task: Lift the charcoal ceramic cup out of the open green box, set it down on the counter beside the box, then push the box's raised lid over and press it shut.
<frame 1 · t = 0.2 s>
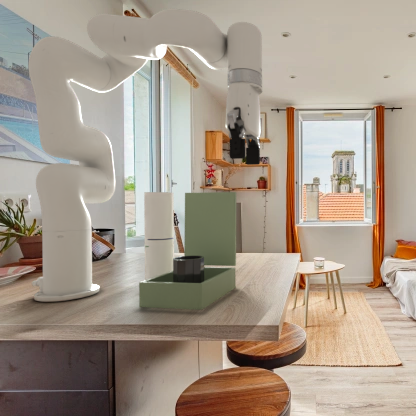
hand: (245, 161, 72), 31 cm above the table, tool pointing down, fingers open, 9 cm apart
open green box: (192, 299, 74), on the table
cylindrical container: (159, 285, 88), on the table
cup: (189, 297, 72), point 1 cm above the table, touching open green box
lid: (210, 228, 83), point 15 cm above the table, hinge at 92.0°
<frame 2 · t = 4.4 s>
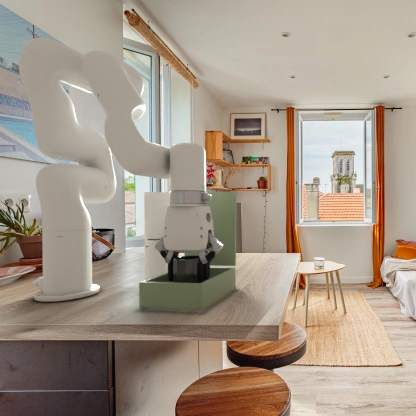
hand: (188, 279, 72), 5 cm above the table, tool pointing down, fingers closed on cup, 6 cm apart
cup: (189, 297, 72), point 1 cm above the table, touching open green box, gripper
everything else where it was.
when the fingers open (4 cm above the table, at t = 11.6 s): cup stays where it is, on the table.
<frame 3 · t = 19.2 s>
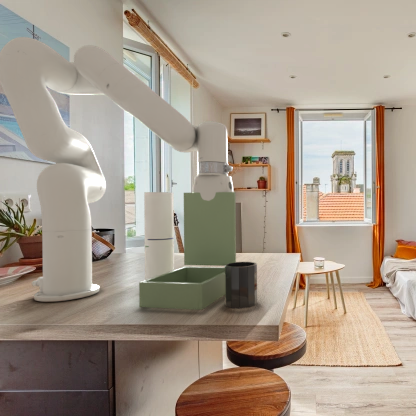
hand: (213, 241, 84), 12 cm above the table, tool pointing down, fingers closed
cup: (241, 307, 68), on the table
lid: (209, 228, 82), point 15 cm above the table, hinge at 89.9°, touching gripper
everything else where it was.
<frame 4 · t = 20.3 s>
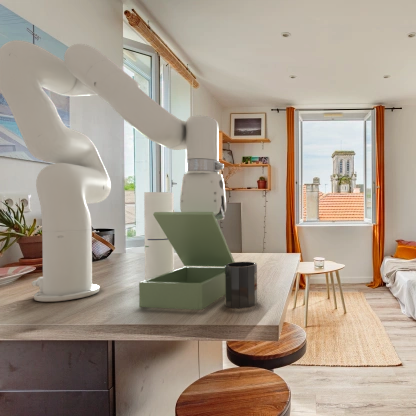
hand: (203, 243, 79), 12 cm above the table, tool pointing down, fingers closed
lid: (197, 241, 76), point 13 cm above the table, hinge at 46.8°, touching gripper
everything else where it was.
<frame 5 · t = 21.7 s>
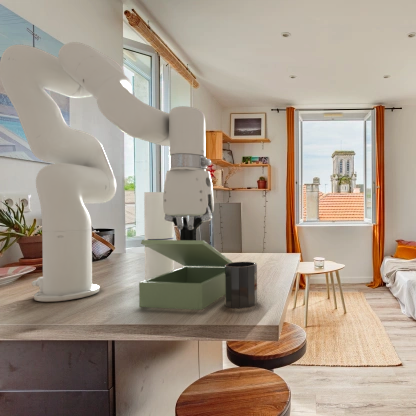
hand: (188, 247, 72), 12 cm above the table, tool pointing down, fingers closed
lid: (193, 254, 74), point 10 cm above the table, hinge at 24.7°
everything else where it was.
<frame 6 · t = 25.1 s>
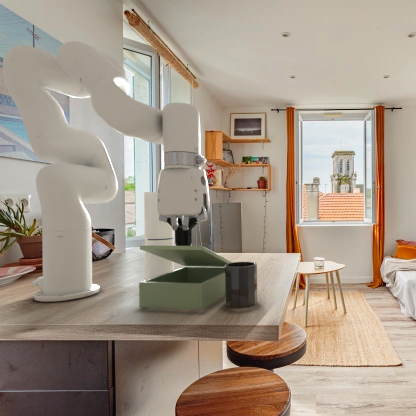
hand: (183, 248, 70), 12 cm above the table, tool pointing down, fingers closed
lid: (192, 257, 74), point 10 cm above the table, hinge at 21.1°, touching gripper
everything else where it was.
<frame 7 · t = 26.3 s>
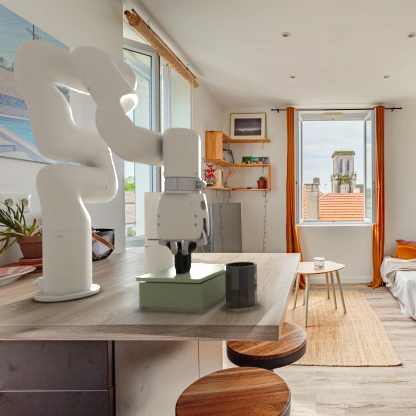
hand: (183, 272, 70), 7 cm above the table, tool pointing down, fingers closed
lid: (191, 271, 73), point 6 cm above the table, hinge at 1.2°, touching gripper
everything else where it was.
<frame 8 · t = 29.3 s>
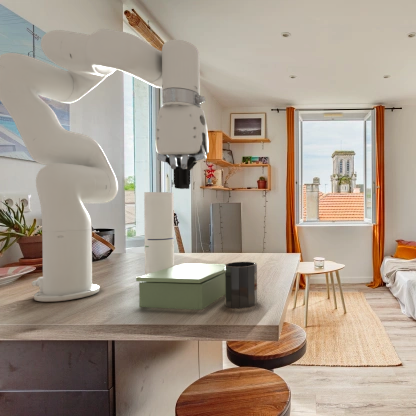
hand: (182, 188, 70), 25 cm above the table, tool pointing down, fingers closed
lid: (191, 271, 73), point 6 cm above the table, hinge at 1.1°
everything else where it was.
at the end: cup inside the target area (0.0 cm from its centre), on the table; cup tilted 0°; lid at +1° (first picture: +92°) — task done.
